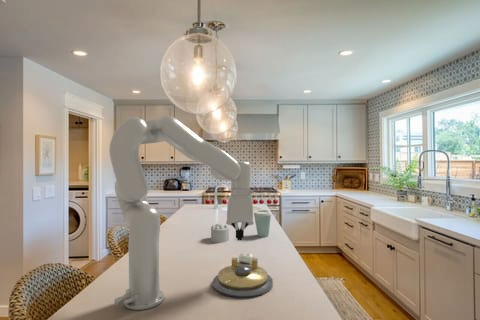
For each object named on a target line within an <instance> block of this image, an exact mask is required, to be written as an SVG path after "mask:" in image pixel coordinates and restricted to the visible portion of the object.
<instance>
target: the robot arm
mask: <svg viewBox="0 0 480 320" xmlns="http://www.w3.org/2000/svg"><path fill="white" fill-rule="evenodd" d="M112 134H113V135H112V136H111V139H110V143H109V158H110V162H111V166H112V170H113V173H114V177H115V180H116V181H115V183H114V192H115V194H116V195H115V196H116V198H117V201H118V204H119V207H120V210H121V212H122V217H123V219H124V222H125V223H126V224H127V225H128V227H129V228H128V229H129V230H128V231H129V232H128V289H126V290H125V293H124V294H123V295H122V296H119V297H116V298H115V299H114V304H115V306H119V305H120V304H123V306H124V307H126V309H129V310H135V311H137V310H138V311H139V310H140V311H142V310H148V309H151V308H155V307H156V306H158V305H160V304H161V303H163V301H164V300H165V293H164V292H163V291H162V290H160V250H159V249H160V232H161V216H160V214H159V211H158V210H157V209H156V208H155V207H154V206H152V205H150V203H149V200H148V196H147V195H148V193H149V184H148V181H147V179H146V176H145V173H144V169H143V166H142V164H141V159H140V154H139V153H140V152H139V149H140V146H141V145H145V144H146V145H148V144H157V143H163V142H165V143H167V144H168V145H170V146H172V147H173V148H174V149H175V150H177V151H178V152H179V153H181V154H182V155H184V156H185V157H186V158H188V159H190V160H192V161H195V162H198V163H201V164H203V165H206V166H208V167H209V169H210V170H209V171H210V175H211V176H212V177H213V178H214V179H216V180H220V181H229V182H230V195H228V198H227V206H226V209H227V211H226V223H225V225H228V226H231V227H233V228H234V229H235V238H236V239H237V241H238V242H239V241H243V239H244V238H245V237H244V236H245V235H244V233H245V231H244V230H245V229H246V228H247V227H248V226H253V225H254V223H255V222H254V206H253V204H254V203H253V197H252V194H254V192H255V190H254V189H251V164H250V162H249V161H244V160H243V161H237V160H236V159H235V158H234V157H232V156H231V155H230V154H228V153H227V152H226V151H224V150H222V149H221V148H219V147H218V146H216V145H214V144H212V143H210V142H209V141H207V140H204V139H203V138H202V137H200V136H199V135H197V134H196V133H195V132H194V131H193V130H191V129H190V128H189V127H188V126H187V125H185V124H184V123H182V122H181V121H180V120H178V119H177V118H176V117H174V116H172V115H165V116H162V117H160V118H158V119H149V120H147V119H146V120H144V119H143V118H140V117H137V116H133V117H132V116H131V117H128V118H127V119H125V120H124V121H123V122H121V123H120V124H119V126H118V127H117V128H116V130H115V131H114V133H112ZM239 223H241V225H240V226H241V227H239Z"/></svg>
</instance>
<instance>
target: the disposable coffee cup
mask: <svg viewBox="0 0 480 320" xmlns="http://www.w3.org/2000/svg"><path fill="white" fill-rule="evenodd" d="M271 216H272V213H271V211H269V210H267V209H258V210H255V211H254V212H253V218H254V220H255V221H254V223H255V226H256V227H255V228H256V232H257V237H259V238H260V237H261V238H266V237H268V236H269V235H270V226H271Z"/></svg>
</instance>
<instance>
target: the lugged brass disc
mask: <svg viewBox="0 0 480 320" xmlns="http://www.w3.org/2000/svg"><path fill="white" fill-rule="evenodd" d="M256 258H257V257H255V258H253V259H252V265H250V264H244V263H242V264H238V262H239V257H232V258H231V265H229V266H225V267H224V268H221V269H220V270H219V271H218V273H217V275H218V281H219V284H220V285H221V286H223V287H225V288H228V289H231V290H239V291H246V290H254V289H257V288H260V287H262V286H264V285H265V284H266V283H267V274H268V272H267V270H266V269H264V268H263V267H260V266H259V264H258V261H259V258H257V259H256Z"/></svg>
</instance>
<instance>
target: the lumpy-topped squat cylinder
mask: <svg viewBox="0 0 480 320" xmlns="http://www.w3.org/2000/svg"><path fill="white" fill-rule="evenodd" d="M210 240H211V242H213V243H216V244H222V242H223V243H226V242H228V241H230V225H227V224H226V223H215V224H212V225H211V227H210Z"/></svg>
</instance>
